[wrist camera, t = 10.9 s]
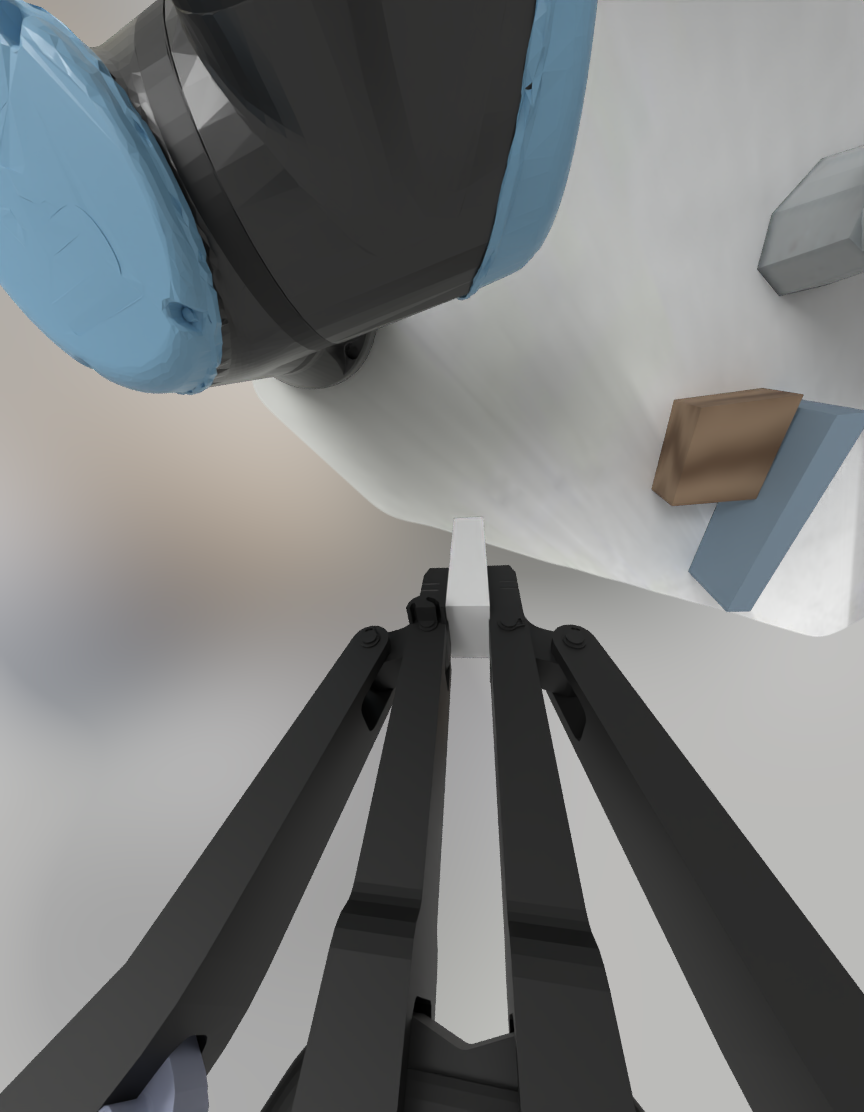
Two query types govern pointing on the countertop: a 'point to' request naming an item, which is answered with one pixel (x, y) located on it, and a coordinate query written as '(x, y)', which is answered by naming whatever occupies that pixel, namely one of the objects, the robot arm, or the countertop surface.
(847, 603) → the countertop surface
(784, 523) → the slate board
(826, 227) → the coffee maker
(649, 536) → the countertop surface
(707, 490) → the walnut block
